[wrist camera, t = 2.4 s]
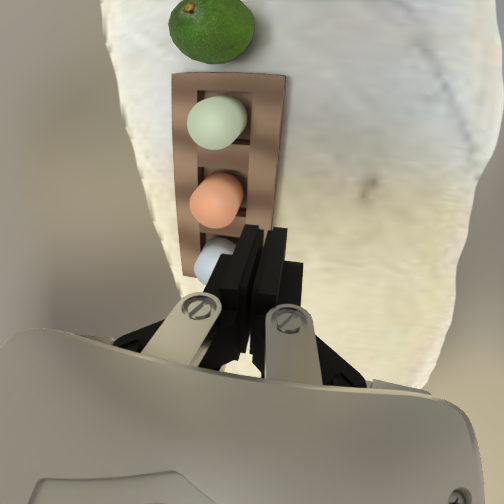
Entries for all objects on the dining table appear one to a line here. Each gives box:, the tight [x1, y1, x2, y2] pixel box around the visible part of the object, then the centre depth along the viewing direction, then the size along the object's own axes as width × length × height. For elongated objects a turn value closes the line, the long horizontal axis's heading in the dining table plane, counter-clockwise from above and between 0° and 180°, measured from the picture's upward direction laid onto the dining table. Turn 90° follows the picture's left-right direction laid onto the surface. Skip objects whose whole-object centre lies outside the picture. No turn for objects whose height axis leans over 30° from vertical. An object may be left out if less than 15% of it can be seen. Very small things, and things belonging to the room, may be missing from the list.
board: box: [172, 72, 286, 278], centre depth 36 cm, size 28×12×3 cm, turn 177°
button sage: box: [187, 94, 248, 150], centre depth 28 cm, size 5×5×4 cm
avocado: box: [168, 0, 254, 64], centre depth 21 cm, size 8×8×12 cm
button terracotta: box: [190, 172, 244, 229], centre depth 33 cm, size 5×5×4 cm
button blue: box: [194, 238, 236, 285], centre depth 38 cm, size 5×5×4 cm
